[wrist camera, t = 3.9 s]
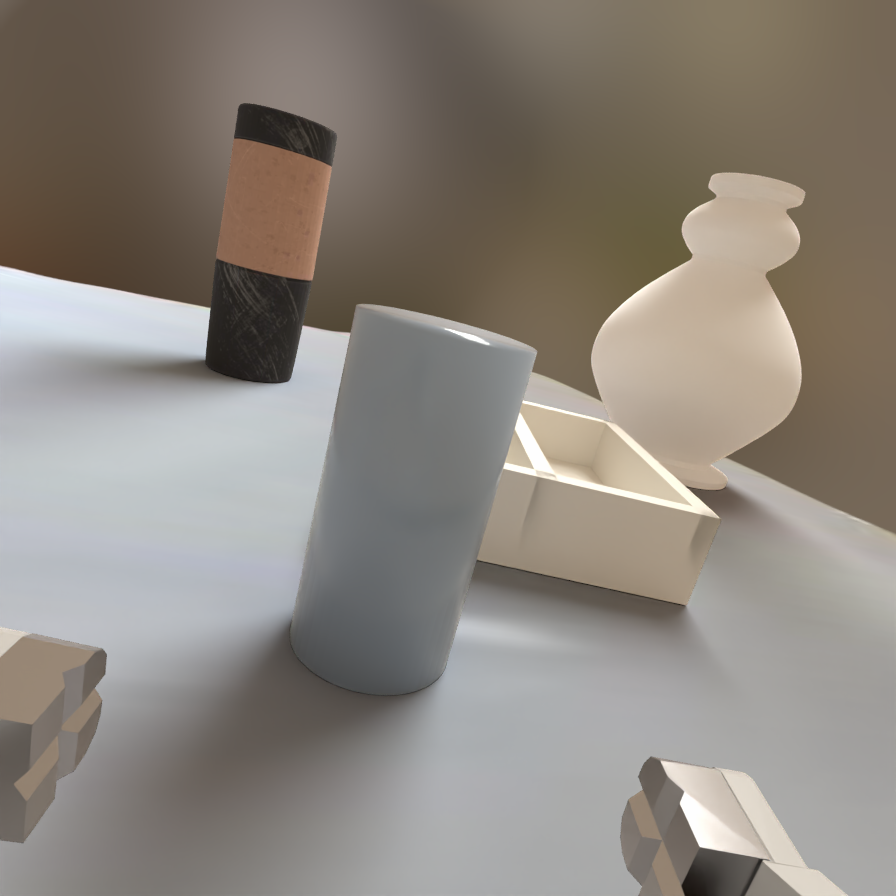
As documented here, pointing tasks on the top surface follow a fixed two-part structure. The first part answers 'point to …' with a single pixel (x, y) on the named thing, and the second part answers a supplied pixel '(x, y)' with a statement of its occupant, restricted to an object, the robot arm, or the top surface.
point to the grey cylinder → (405, 497)
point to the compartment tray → (595, 509)
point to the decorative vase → (708, 336)
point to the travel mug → (268, 242)
